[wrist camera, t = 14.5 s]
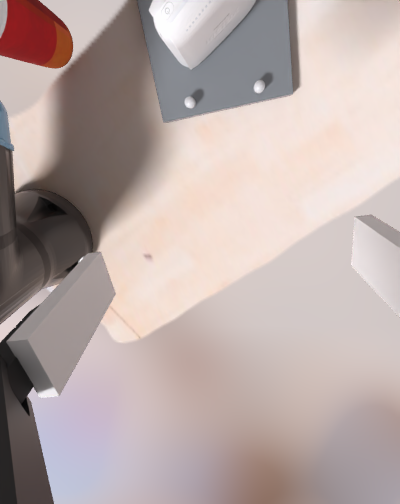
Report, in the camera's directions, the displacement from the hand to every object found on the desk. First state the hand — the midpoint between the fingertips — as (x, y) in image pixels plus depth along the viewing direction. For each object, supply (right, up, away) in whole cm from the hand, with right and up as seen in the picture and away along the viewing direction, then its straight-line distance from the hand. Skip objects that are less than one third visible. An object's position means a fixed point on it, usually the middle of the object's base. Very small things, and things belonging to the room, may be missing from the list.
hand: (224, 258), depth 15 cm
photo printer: (0, +26, +17) cm, 31 cm away
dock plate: (0, +26, +18) cm, 32 cm away
